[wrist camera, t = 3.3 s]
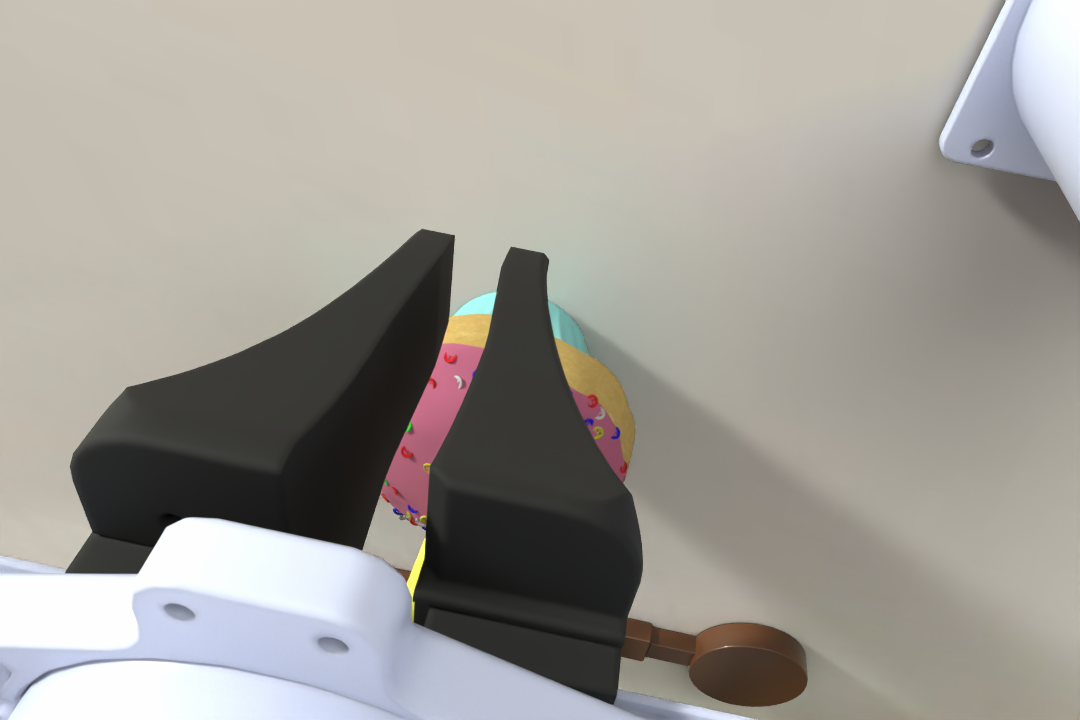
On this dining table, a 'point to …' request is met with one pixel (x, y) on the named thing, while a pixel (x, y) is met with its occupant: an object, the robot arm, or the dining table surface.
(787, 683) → the spoon
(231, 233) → the dining table surface
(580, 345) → the cupcake
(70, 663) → the robot arm
